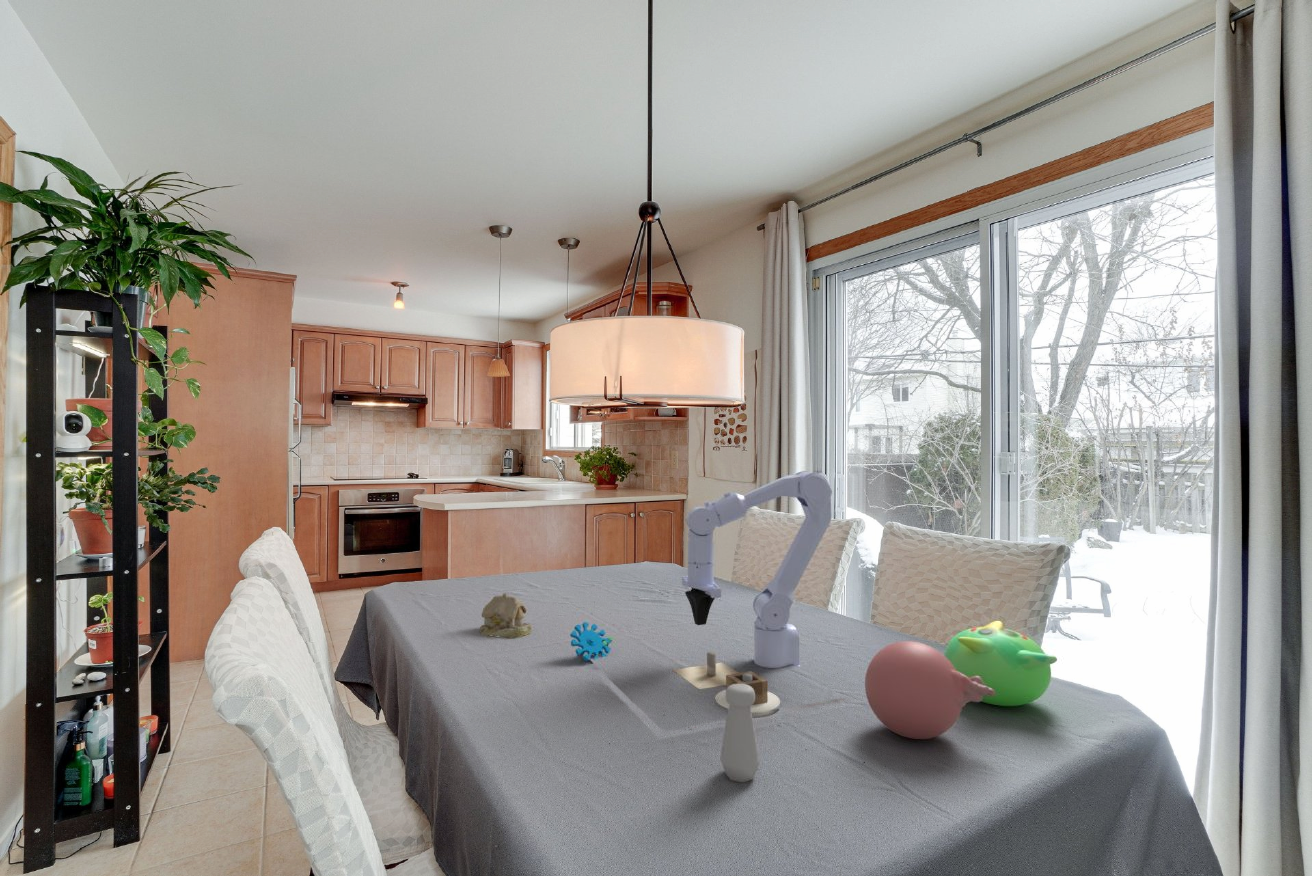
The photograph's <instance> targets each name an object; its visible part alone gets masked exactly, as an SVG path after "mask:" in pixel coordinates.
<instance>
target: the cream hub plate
mask: <svg viewBox="0 0 1312 876" xmlns="http://www.w3.org/2000/svg"><path fill="white" fill-rule="evenodd" d="M748 681H752V674H748V673H745V674H743V682H748ZM725 694H726V689H723V690H721V691H719V692H718V693H717V694H716V695H715V697H714V698H715V702H716V703H717V704H718V705H719V706H721V707H724V708H725V709H728V710H729V703H727V701H726V695H725ZM780 704H781V700H780V698H779V697H778V696H777V695H775V694H774V693H772V692H770V691H768V693H767V703H762V704H756V705H751V713H752V718H753V719H757V718H758V719H759V718H767V717H770V716H773V715H774V714H777V713H778V712H779V711H780V708H777V707H779V706H780ZM776 708H777V709H776Z"/></svg>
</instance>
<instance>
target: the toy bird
mask: <svg viewBox="0 0 1312 876" xmlns="http://www.w3.org/2000/svg"><path fill="white" fill-rule="evenodd" d="M1003 624H1004V623H1003V622H1002V621H1000V620H995V621H992V622H989V623H987V624H986V625H984V626H976V627H975V626H974V627H972V628H971V627H970V628H967V629H964V630H962V631H960V632H959V633H957V634H955V635H954V636H953V637H952V638H951V640H950V641H949V642H948V643H947V646H946V648H945V651H944V656H945V657H946V658H947V659H948V660H949V661H950V662H951V663H952V665H953V666H954V668H955V669H956V671H958V672H960V673H962V674H964V675H965V676H967V677H968V678H971V677H973V676H979V677H981V679H982V681H983V683H984V684H985V686H987V687H990V688H992V689H993V690H994V691H995V695H994V696H986V695H984V696H983V698H982V700H981V701H980V702H982V703H985V704H989V705H993V706H1000V707H1018V706H1023V705H1027V704H1029V703H1032V702H1034V701H1036V700H1038V699H1039V698H1041V697H1042V696H1043V695H1044V694H1045V692H1046V691H1047V690H1048V688H1049V686H1050V683H1051V677H1052V670H1051V665H1052V664H1055V663H1056V662H1057V661H1058V658H1057V657H1056V656H1054V655H1052V654H1049V653H1046V652H1045V651H1044V650H1043V649H1042V648H1041V646H1039V644H1037V643H1036V642H1035V641H1034V640H1033V639H1031V638H1030V637H1029V636H1026V635H1024V634H1022V633H1021V632H1017V631H1015V630H1012V629H1008V628H1005V627H1004V625H1003Z"/></svg>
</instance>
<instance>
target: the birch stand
mask: <svg viewBox="0 0 1312 876" xmlns="http://www.w3.org/2000/svg"><path fill="white" fill-rule="evenodd" d="M716 654H717V653H716V652H715V651H714V652H713V651H707V652H706V664H704V665H697V666H690V667H684V668H676V669H672V671H673V672H675V673H676V674H677V675H679V676H680V677H681V678H683V679H684V680H685V681H686V682H688V683H689V684H690V685H693V686H694V687H695V688H697V690H705V689H711V688H717V687H723V686H726V675H730V674H737V673H739V671H737V670H735V669H733V668H732V667H731V666H728V665H727V664H725V663H724V662H717V658H716V656H717V655H716ZM716 662H717V663H716Z"/></svg>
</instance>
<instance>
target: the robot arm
mask: <svg viewBox="0 0 1312 876" xmlns="http://www.w3.org/2000/svg"><path fill="white" fill-rule="evenodd" d="M832 494H833V491H832V487H831V486H830V483H829V482H828V480H827V478H826V477H825V476H824V475H823V474H821V473H818V472H809V471H805V470H802V471H799V472H796V473H794V474H788V475H785V476H783V477H780V478H777V479H775V480H772V481H770V482H769V483H767V484H765V485H762V486H760V487H758V488H755V489H754V490H751V491H749V492H747V493H745V494H740V493H737V492H732V493H731V492H729V491H728V492H727V491H726V493H723V497H720V498H718V499H715V500H712V501H710V502H709V501H705V502H703V505H704V506H695V507H693V508H692V509H690V511H689V512H688V514H687V516H686V517H687V518H685V521H686V525H687V527H688V528H689V529H688V533H687V537H688V540H687V575H685V576H683V575H681V585H682V586H683V587H684V588H690V590H686V591H685V592H684V593H685V594H684V595H685V596H686V598H687V599H688V602H689V605H690V608H691V613H692V616H693V621H694V624H695V625H696V626H704V625H707V621H708V617H709V613H710V610H711V608H712V605H713V602H714V601H715V599H717V598H722V587H720V586H718V584H716V582H715V580H714V579H715V574H714V573H715V568H714V565H715V561H714V560H715V558H714V556H715V555H714V554H715V550H714V549H715V544H714V543H715V541H714V531H715V530H716V527H718V528H720V527H723V526H726V525H728V524H730V523H733V522H734V521H737V520H739V519H743V518H744V517H746V515H747V512H748V511H749V509H751V508H754V507H756V506H758V505H761V504H765V503H767V502H770V501H773V500H775V499H777V498H780V497H788V498H796V500H797V501H798V502H799V503H800V505H801V507H802V511H803V513H804V516H805V518H804V520H803V521H802V523H801V526H800V527H799V530H798V531H797V533H796V535H795V537H794V539H793V541H792V543H791V544H790V546H789V549H788V550H787V552H786V554H785V556H784V558H783V559H782V561H781V563H780V565H779V567H778V569H777V571H776V573H775V575H774V577H773V578H772V579H771V580H770V581H769V582H768V583H766V585H765V587H764V589H763V590H761V592H759V593H757V595H756V596H755V597H754V598H753V601H752V603H753V604H752V608H753V611H754V613H755V614H756V616H757V617H756V620H755V621H754V622H753V623H754V624H753V625H754V627H753V628H754V629H753V630H754V631H753V632H754V633H753V636H754V637H753V639H754V640H753V641H754V642H753V643H754V644H753V647H754V648H753V653H754V654H753V662H754V664H755V665H757V666H760V667H763V668H770V669H779V668H784V667H786V666H791V665H795V666H797V667H799V668H802V665H800V636H799V632H798V630H797V627H795V625H794V624H791V623H788V622H789V620H790V615H791V614H790V613H791V612H790V611H791V607H792V605H793V603H794V594H795V593H794V592H795V590H796V588H797V586H798V584H799V582H800V580H801V579H802V577H803V575H804V574H805V571H806V569H807V567H808V565H809V563H810V561H811V560H812V558H813V556H814V554H815V552H816V550H817V548H818V546H819V544H820V543H821V541H822V538H823V537H824V535H825V533H826V531H827V529H828V527H829V526H830V524H831V521H832V503H831V501H832V499H831V498H832Z"/></svg>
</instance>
